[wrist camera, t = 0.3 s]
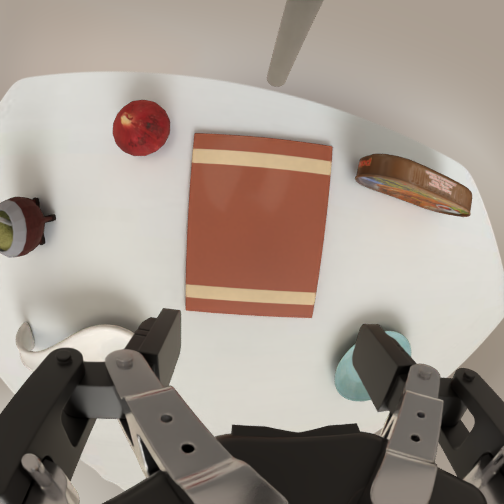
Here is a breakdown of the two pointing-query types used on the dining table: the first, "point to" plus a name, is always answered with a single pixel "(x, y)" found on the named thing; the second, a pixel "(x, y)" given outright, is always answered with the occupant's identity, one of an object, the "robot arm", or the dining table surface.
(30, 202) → the mate gourd
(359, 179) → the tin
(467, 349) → the dining table surface
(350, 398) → the saucer
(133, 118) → the red pomegranate
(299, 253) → the towel
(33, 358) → the spoon rest
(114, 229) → the dining table surface
